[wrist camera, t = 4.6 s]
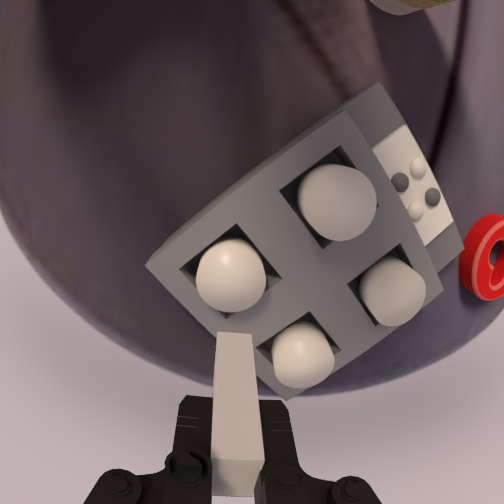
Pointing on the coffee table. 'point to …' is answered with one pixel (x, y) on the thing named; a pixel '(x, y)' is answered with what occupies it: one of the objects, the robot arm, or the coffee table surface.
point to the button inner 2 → (337, 201)
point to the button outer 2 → (392, 291)
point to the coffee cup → (406, 5)
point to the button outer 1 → (301, 355)
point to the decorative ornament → (483, 259)
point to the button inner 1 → (231, 274)
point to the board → (311, 242)
